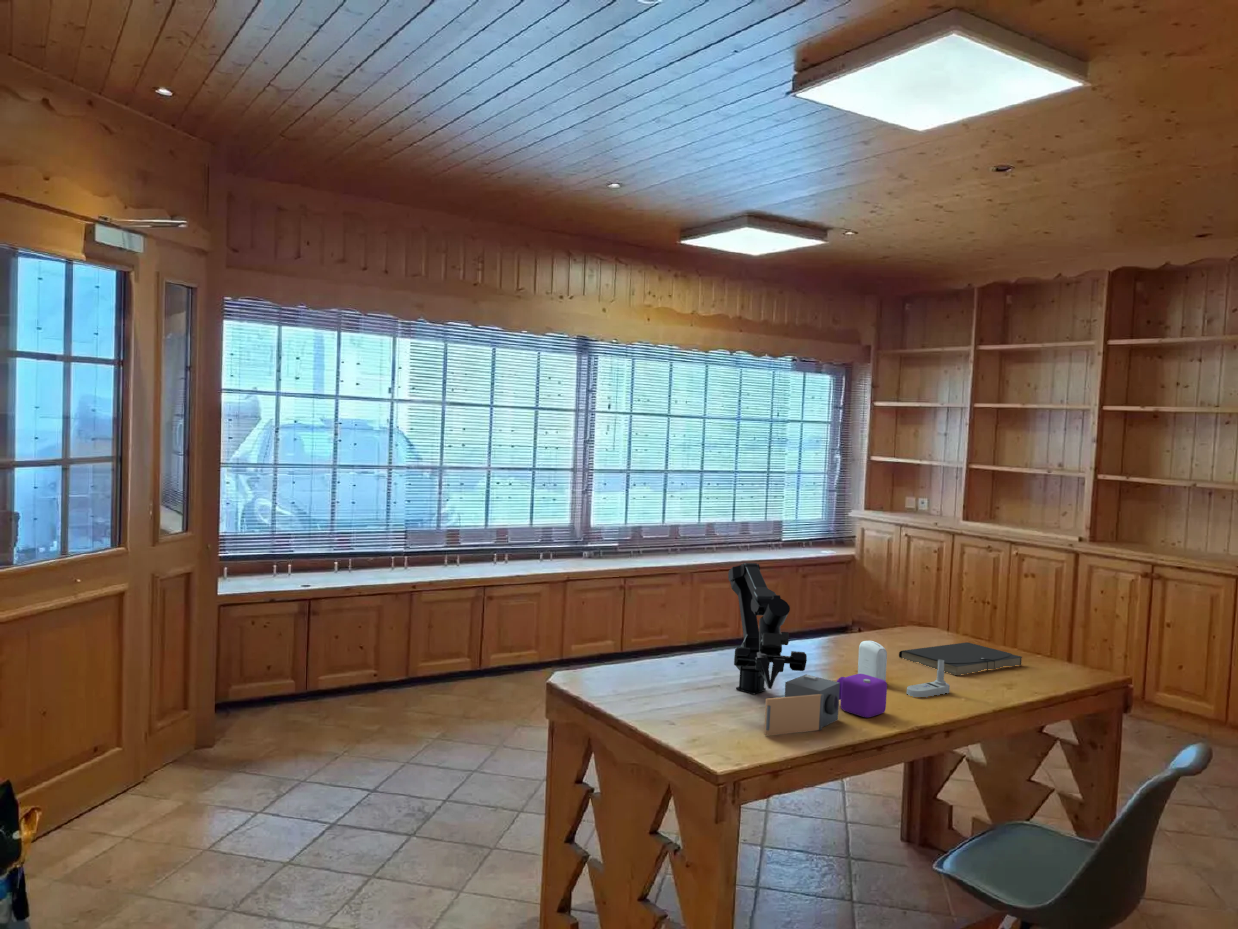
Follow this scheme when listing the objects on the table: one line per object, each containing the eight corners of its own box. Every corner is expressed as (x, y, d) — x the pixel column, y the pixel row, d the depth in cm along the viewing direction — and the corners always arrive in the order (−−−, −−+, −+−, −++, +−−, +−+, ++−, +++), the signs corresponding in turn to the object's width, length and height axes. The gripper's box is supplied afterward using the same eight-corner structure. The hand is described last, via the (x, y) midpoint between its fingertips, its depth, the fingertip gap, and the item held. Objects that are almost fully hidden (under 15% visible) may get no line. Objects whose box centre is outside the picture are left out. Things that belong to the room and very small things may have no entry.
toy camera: (842, 700, 247) (844, 666, 246) (889, 712, 238) (891, 676, 238) (825, 709, 239) (827, 673, 238) (873, 721, 230) (875, 684, 229)
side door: (766, 736, 214) (768, 700, 214) (763, 734, 215) (765, 698, 215) (823, 730, 220) (825, 695, 220) (819, 728, 222) (821, 693, 221)
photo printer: (855, 677, 272) (857, 638, 271) (866, 676, 273) (868, 637, 273) (875, 687, 262) (878, 646, 261) (887, 686, 263) (889, 645, 263)
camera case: (783, 719, 228) (785, 679, 228) (804, 710, 236) (806, 672, 236) (821, 730, 221) (824, 689, 220) (842, 721, 229) (844, 681, 228)
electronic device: (904, 662, 256) (940, 657, 263) (902, 695, 256) (939, 688, 263) (918, 667, 251) (954, 661, 258) (916, 701, 252) (953, 694, 259)
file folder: (957, 665, 277) (899, 648, 298) (956, 678, 277) (898, 660, 298) (1023, 656, 294) (963, 640, 315) (1022, 668, 294) (962, 651, 315)
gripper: (736, 617, 230) (735, 670, 220) (808, 622, 228) (810, 675, 218) (734, 639, 239) (733, 691, 228) (803, 644, 237) (805, 696, 226)
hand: (770, 688), depth 225 cm, fingers closed
